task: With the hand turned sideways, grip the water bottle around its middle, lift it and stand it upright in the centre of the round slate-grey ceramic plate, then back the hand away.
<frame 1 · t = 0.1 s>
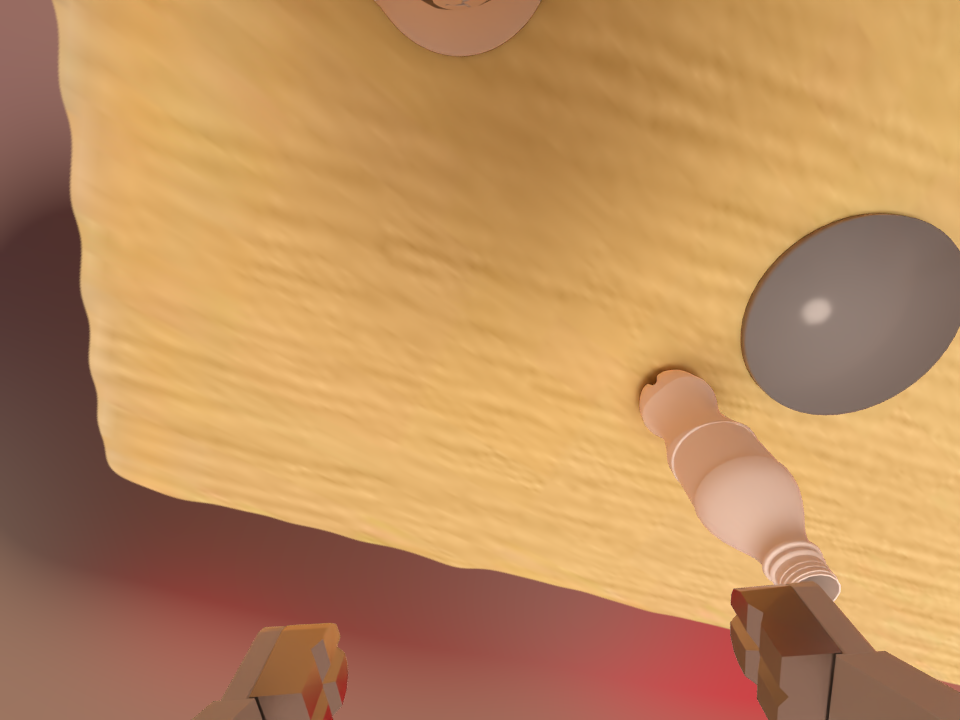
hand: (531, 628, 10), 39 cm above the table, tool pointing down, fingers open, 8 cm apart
plate: (846, 319, 48), on the table
water bottle: (667, 392, 52), on the table
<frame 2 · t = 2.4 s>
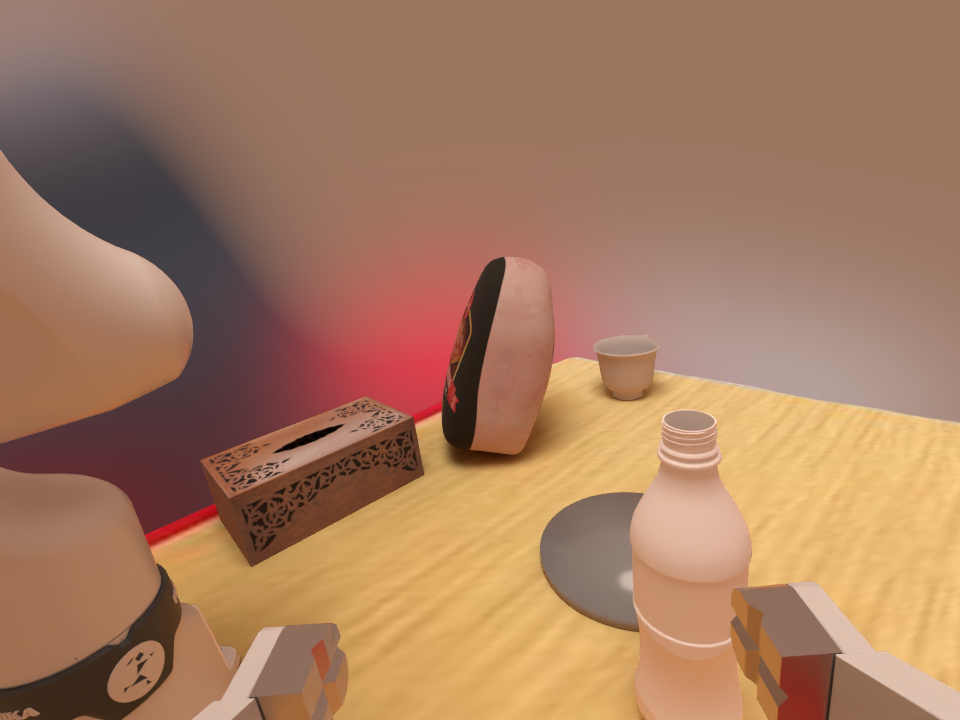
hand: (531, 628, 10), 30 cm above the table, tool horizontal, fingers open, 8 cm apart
packaged food: (504, 438, 83), on the table
tissue box cover: (326, 499, 73), on the table
plate: (633, 554, 54), on the table
teacup: (631, 392, 95), on the table
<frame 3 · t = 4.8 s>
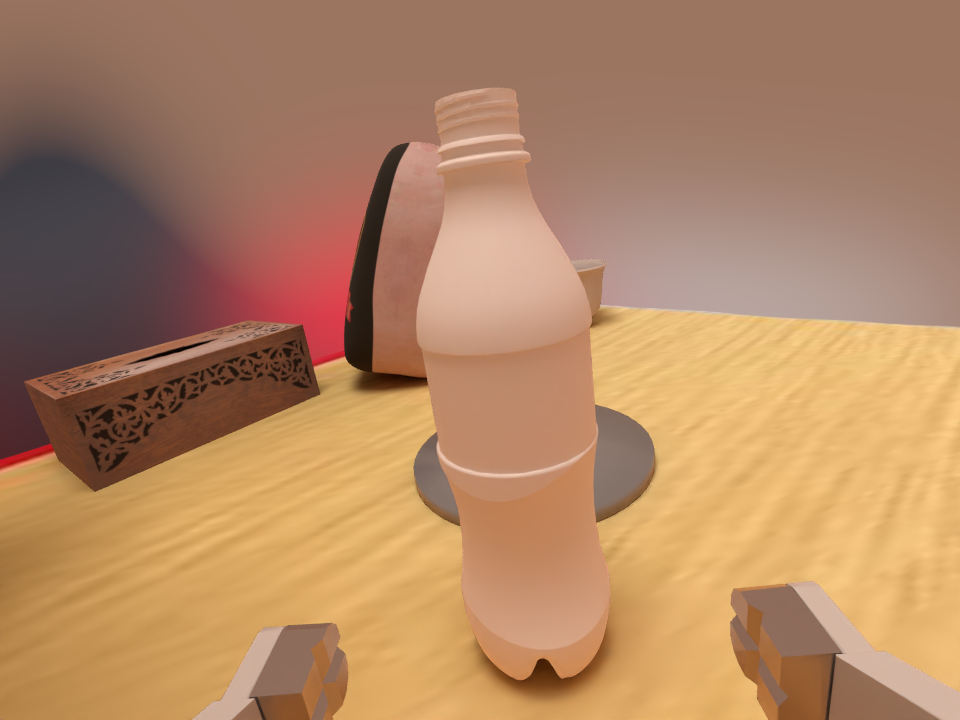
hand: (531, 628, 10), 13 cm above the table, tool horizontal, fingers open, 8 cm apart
packaged food: (423, 367, 72), on the table
tissue box cover: (200, 427, 62), on the table
plate: (531, 459, 42), on the table
teacup: (578, 324, 83), on the table
water bottle: (541, 639, 25), on the table
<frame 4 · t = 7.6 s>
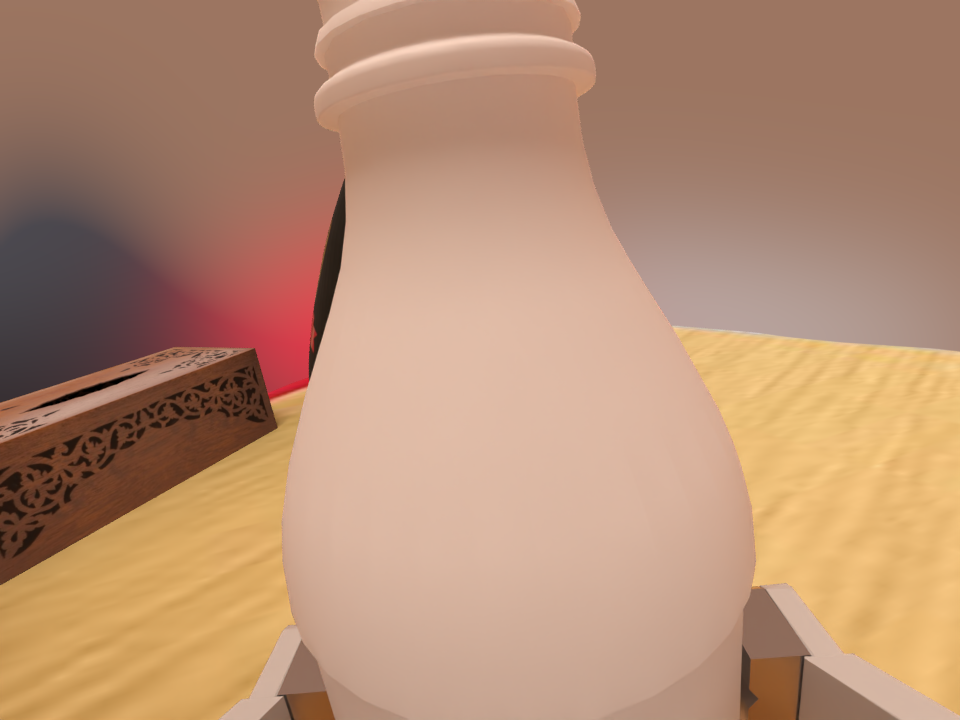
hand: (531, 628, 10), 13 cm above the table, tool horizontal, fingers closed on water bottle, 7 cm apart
packaged food: (409, 401, 60), on the table
tissue box cover: (128, 482, 50), on the table
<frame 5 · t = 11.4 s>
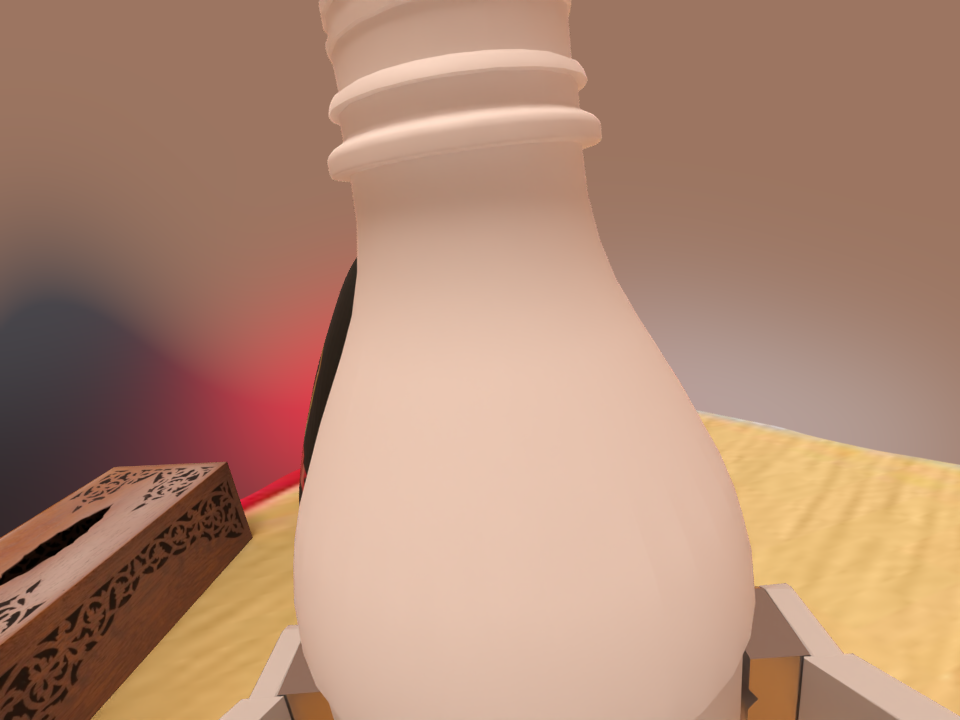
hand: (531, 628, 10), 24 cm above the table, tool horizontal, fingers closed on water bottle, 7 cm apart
packaged food: (409, 515, 56), on the table
tissue box cover: (101, 635, 45), on the table
when the fingers open (17 cm above the table, at t = 15.5 s): water bottle drops 1 cm, resting on plate.
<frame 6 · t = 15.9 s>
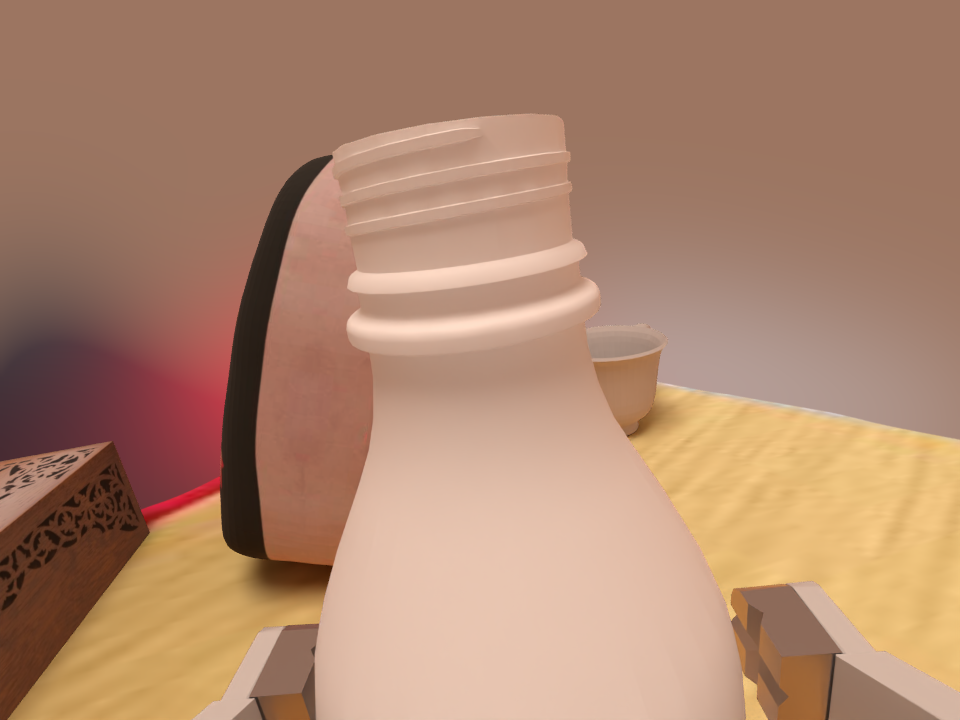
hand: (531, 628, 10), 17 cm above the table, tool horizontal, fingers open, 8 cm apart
packaged food: (375, 518, 44), on the table
teacup: (618, 423, 56), on the table
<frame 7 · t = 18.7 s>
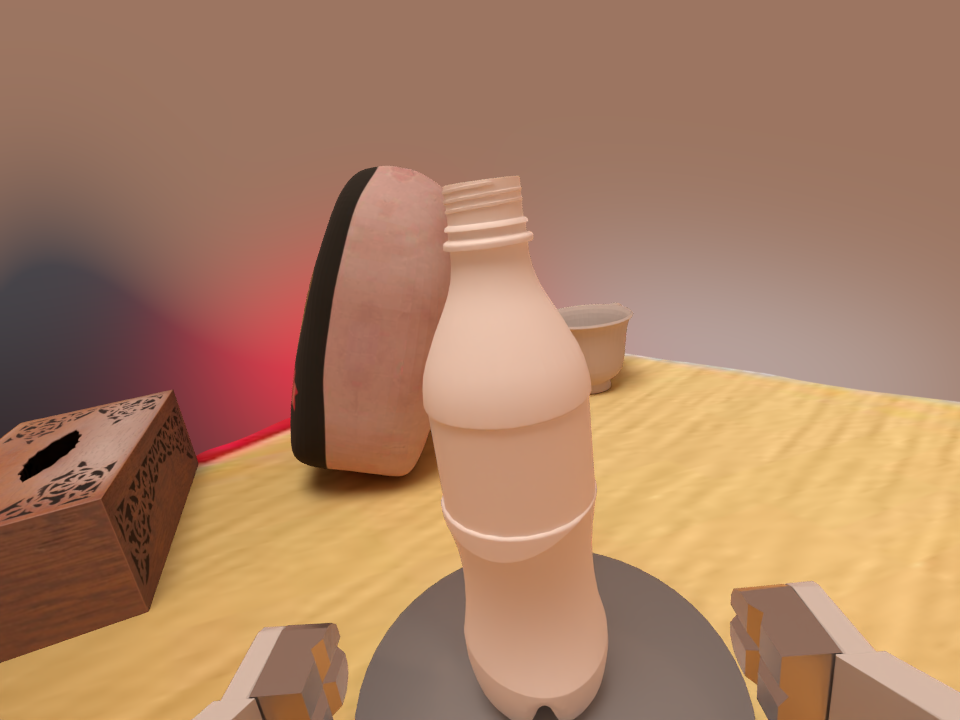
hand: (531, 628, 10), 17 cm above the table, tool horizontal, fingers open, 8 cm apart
packaged food: (400, 450, 56), on the table
tissue box cover: (94, 549, 46), on the table
plate: (545, 692, 27), on the table
teacup: (595, 384, 68), on the table
water bottle: (541, 679, 26), point 1 cm above the table, touching plate
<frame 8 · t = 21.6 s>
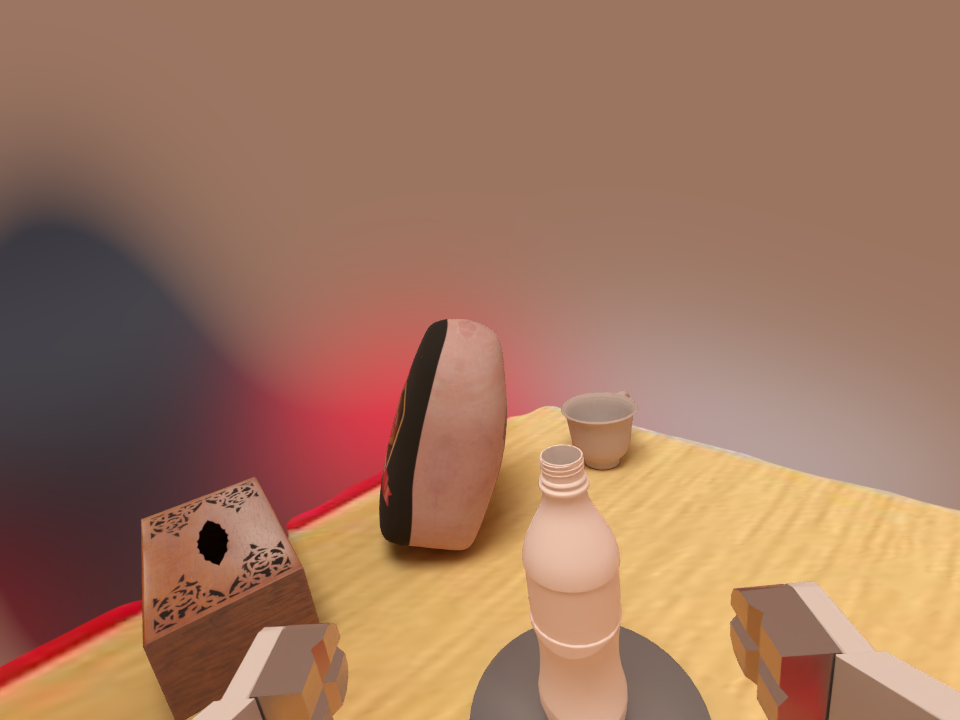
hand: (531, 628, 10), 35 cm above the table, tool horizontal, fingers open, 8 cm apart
packaged food: (455, 522, 72), on the table
tissue box cover: (236, 608, 61), on the table
teacup: (606, 458, 83), on the table
water bottle: (585, 717, 42), point 1 cm above the table, touching plate
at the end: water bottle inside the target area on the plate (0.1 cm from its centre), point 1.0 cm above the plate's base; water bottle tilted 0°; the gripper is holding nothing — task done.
